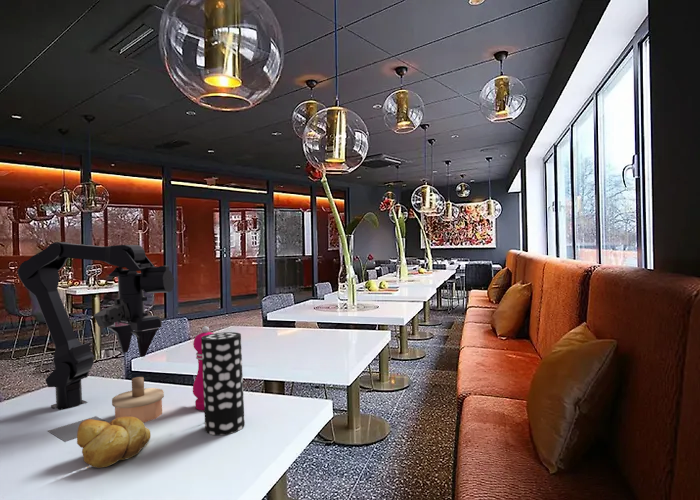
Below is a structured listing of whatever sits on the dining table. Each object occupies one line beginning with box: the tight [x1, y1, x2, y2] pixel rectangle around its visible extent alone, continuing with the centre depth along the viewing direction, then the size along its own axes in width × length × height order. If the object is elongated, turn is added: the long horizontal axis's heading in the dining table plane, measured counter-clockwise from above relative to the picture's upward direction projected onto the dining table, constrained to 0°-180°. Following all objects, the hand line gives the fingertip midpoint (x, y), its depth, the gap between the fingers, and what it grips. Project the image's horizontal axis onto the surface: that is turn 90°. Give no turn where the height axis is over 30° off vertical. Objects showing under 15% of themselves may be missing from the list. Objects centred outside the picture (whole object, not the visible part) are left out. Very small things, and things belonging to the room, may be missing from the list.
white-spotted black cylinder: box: [201, 331, 246, 436], centre depth 98 cm, size 8×8×20 cm
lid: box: [111, 376, 165, 408], centre depth 105 cm, size 11×11×5 cm
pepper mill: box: [192, 325, 215, 411], centre depth 112 cm, size 7×7×20 cm
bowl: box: [114, 398, 163, 424], centre depth 105 cm, size 10×10×4 cm
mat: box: [47, 415, 110, 443], centre depth 99 cm, size 10×10×1 cm
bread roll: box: [76, 416, 151, 469], centre depth 86 cm, size 13×10×8 cm
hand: (133, 354), depth 115 cm, fingers open, 9 cm apart
